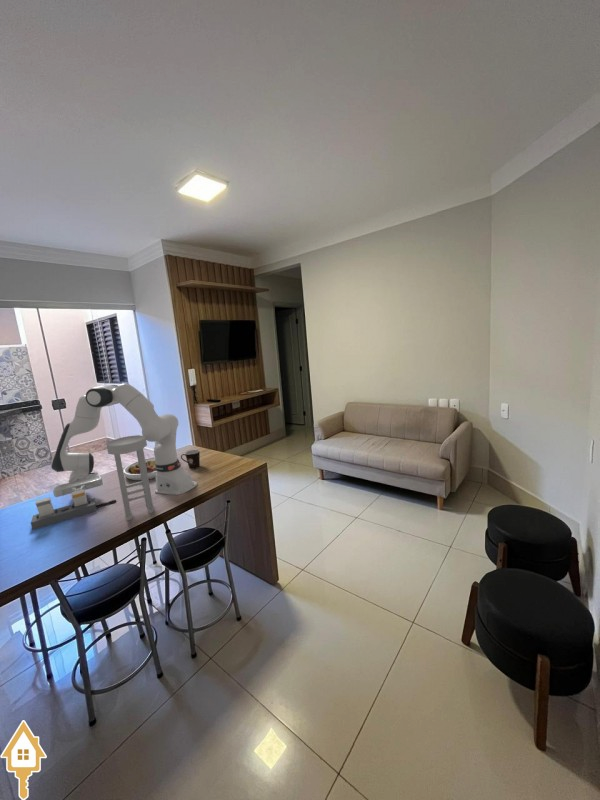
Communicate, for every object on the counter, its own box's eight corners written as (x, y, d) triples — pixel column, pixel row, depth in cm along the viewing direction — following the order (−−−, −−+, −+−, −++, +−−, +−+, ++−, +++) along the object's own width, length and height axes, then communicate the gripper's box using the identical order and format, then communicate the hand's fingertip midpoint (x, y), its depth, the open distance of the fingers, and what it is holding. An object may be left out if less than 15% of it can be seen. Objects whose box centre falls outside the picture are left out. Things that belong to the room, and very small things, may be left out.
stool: (159, 512, 145) (147, 439, 139) (121, 524, 137) (106, 448, 131) (154, 499, 158) (143, 433, 152) (119, 510, 150) (106, 440, 144)
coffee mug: (204, 465, 200) (202, 450, 198) (193, 470, 193) (191, 455, 191) (192, 463, 206) (190, 448, 204) (181, 467, 199) (179, 452, 197)
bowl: (129, 468, 206) (127, 457, 204) (178, 459, 215) (176, 449, 214) (120, 486, 178) (117, 473, 176) (176, 476, 187) (174, 463, 186)
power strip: (115, 498, 162) (113, 490, 162) (116, 504, 156) (115, 496, 155) (34, 522, 145) (32, 512, 144) (32, 530, 138) (30, 520, 137)
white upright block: (87, 500, 153) (84, 489, 148) (87, 503, 151) (84, 492, 147) (74, 504, 150) (71, 492, 146) (75, 507, 149) (71, 495, 144)
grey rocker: (53, 509, 146) (49, 497, 142) (53, 513, 144) (49, 500, 141) (40, 513, 143) (35, 500, 139) (40, 516, 141) (35, 503, 138)
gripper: (52, 482, 157) (50, 492, 145) (100, 471, 168) (101, 479, 157) (55, 494, 158) (53, 504, 147) (102, 482, 169) (104, 490, 158)
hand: (78, 491), depth 152 cm, fingers closed
